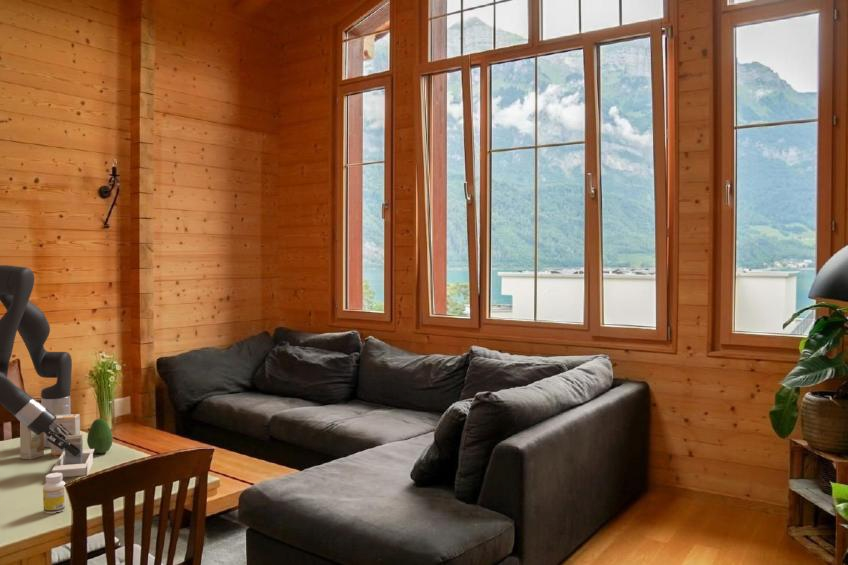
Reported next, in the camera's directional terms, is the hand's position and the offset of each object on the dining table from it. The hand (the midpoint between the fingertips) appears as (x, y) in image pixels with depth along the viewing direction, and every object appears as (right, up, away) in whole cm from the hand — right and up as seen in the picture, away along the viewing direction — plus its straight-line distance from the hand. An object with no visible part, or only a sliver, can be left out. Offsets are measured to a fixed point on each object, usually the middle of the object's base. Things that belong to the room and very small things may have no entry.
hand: (78, 451), depth 224 cm
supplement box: (-13, -5, +17) cm, 22 cm away
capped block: (-1, -5, 0) cm, 5 cm away
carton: (-1, -6, 0) cm, 6 cm away
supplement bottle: (+11, -8, -35) cm, 37 cm away
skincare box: (-22, -5, +13) cm, 26 cm away
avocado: (-2, -5, +18) cm, 19 cm away
